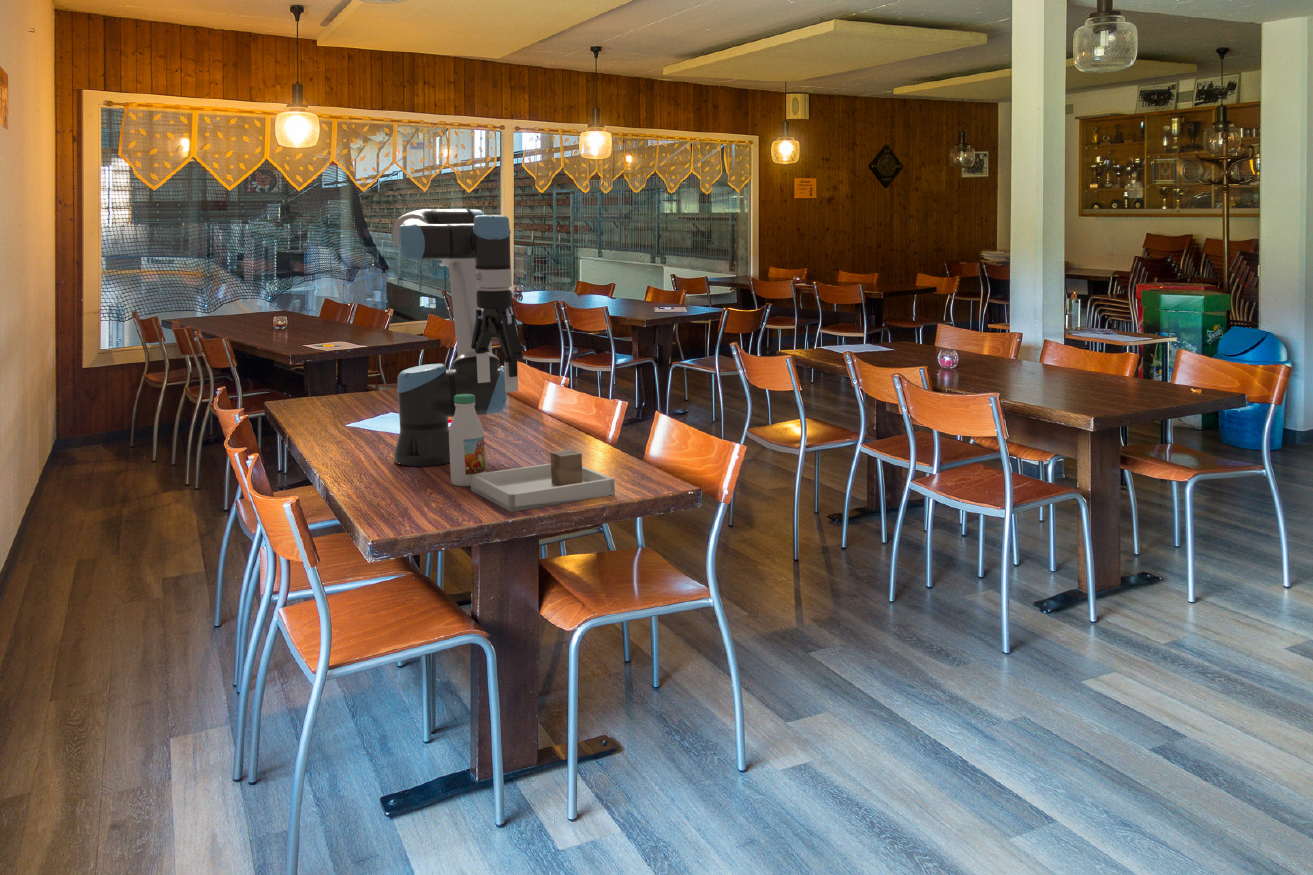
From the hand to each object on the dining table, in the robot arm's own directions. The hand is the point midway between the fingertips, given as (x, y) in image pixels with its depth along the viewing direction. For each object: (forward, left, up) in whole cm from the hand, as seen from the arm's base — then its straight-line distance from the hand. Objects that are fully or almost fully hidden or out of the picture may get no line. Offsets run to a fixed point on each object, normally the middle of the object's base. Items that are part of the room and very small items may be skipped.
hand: (497, 387), depth 219 cm
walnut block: (+12, +10, -21) cm, 26 cm away
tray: (+12, +4, -22) cm, 25 cm away
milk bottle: (-5, -6, -22) cm, 23 cm away
